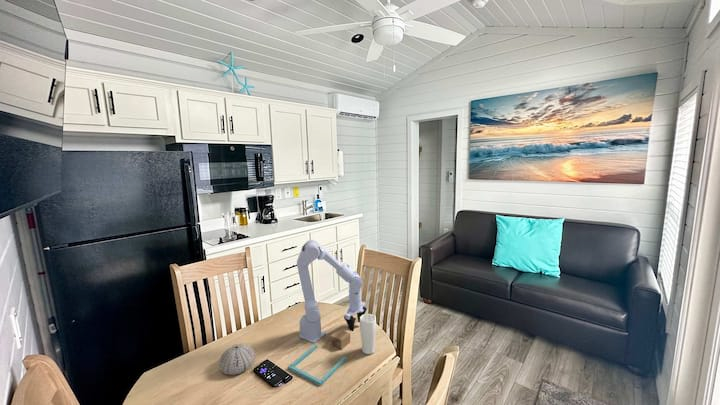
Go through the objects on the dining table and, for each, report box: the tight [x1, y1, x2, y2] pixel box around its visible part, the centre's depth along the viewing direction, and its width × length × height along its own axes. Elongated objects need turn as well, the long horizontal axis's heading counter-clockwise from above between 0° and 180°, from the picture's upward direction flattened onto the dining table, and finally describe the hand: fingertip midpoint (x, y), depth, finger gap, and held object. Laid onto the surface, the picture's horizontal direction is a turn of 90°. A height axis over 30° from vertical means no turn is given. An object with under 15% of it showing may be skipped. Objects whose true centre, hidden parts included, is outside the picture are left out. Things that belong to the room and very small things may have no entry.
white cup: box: [359, 313, 377, 355], centre depth 122 cm, size 7×7×15 cm
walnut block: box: [330, 328, 351, 350], centre depth 128 cm, size 6×6×4 cm
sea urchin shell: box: [218, 343, 256, 376], centre depth 116 cm, size 13×14×8 cm
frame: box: [287, 343, 347, 387], centre depth 116 cm, size 16×16×1 cm
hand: (356, 326), depth 138 cm, fingers open, 7 cm apart
